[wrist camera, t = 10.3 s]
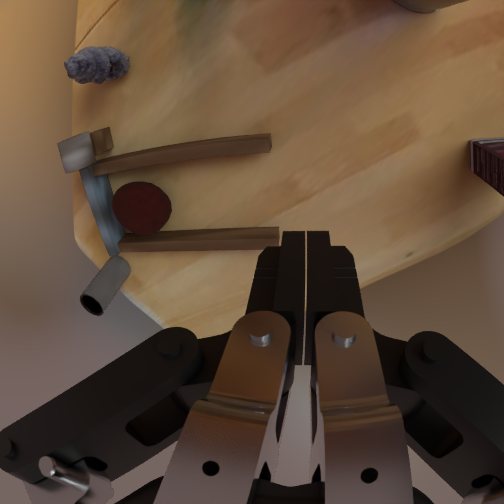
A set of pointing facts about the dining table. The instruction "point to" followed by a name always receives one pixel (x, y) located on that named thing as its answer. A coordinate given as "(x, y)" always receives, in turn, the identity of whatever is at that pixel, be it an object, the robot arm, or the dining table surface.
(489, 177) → the supplement box
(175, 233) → the bay
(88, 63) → the grey lumpy rock
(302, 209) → the dining table surface
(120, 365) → the robot arm
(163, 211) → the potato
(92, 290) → the grey tube
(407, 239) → the dining table surface
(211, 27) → the dining table surface
